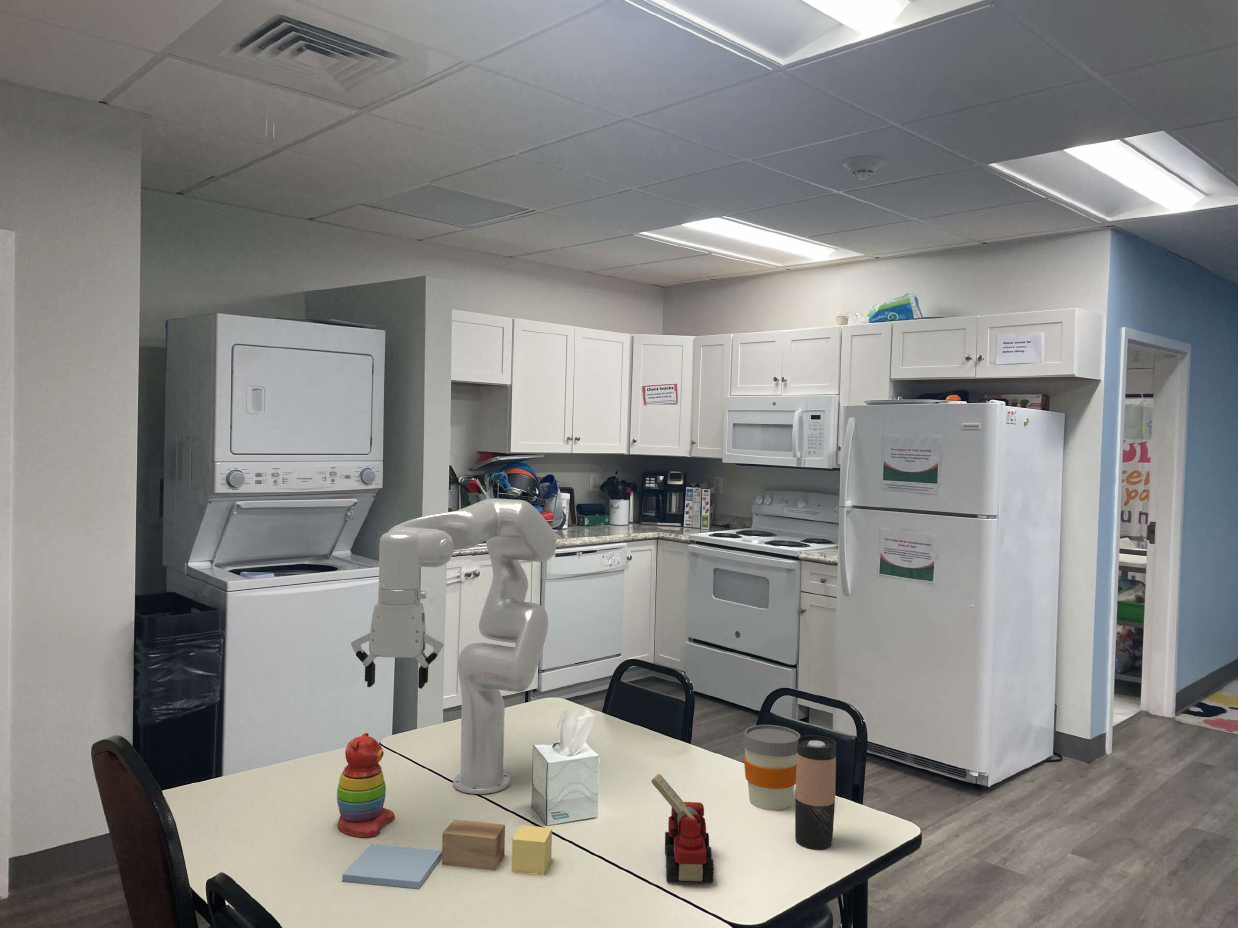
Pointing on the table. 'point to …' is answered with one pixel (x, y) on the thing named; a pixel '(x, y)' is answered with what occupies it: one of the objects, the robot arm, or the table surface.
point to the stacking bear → (362, 789)
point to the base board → (393, 866)
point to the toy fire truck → (685, 838)
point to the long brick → (473, 844)
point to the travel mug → (815, 791)
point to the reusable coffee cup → (770, 765)
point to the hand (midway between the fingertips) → (396, 685)
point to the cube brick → (531, 849)
